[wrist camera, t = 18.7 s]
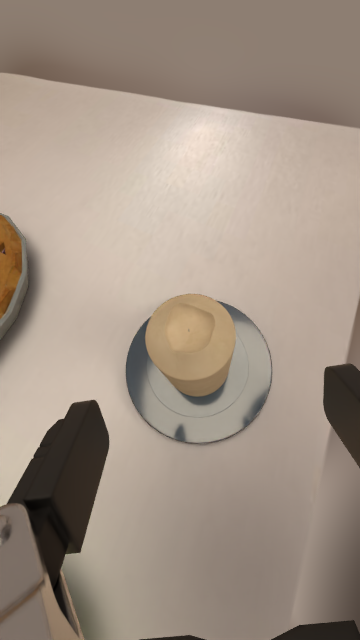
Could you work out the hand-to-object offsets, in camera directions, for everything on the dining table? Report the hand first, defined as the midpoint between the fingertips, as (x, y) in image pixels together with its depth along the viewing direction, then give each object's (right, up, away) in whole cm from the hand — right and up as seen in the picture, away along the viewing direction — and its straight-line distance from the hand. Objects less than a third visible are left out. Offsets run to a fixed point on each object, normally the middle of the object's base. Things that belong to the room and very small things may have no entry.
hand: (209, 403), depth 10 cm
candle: (+1, -1, +15) cm, 15 cm away
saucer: (+1, -1, +16) cm, 17 cm away
